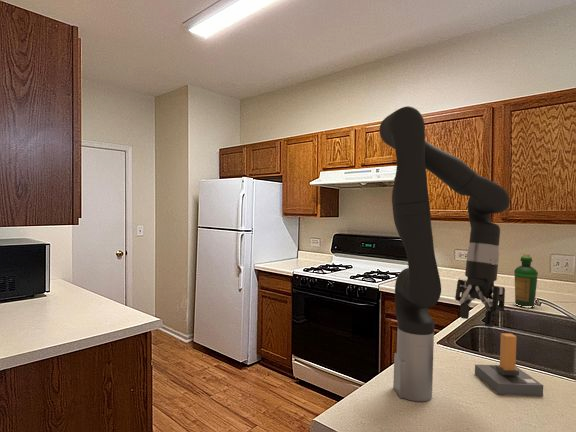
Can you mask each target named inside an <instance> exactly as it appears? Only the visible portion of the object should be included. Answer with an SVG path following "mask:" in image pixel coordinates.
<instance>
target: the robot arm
mask: <svg viewBox="0 0 576 432" xmlns="http://www.w3.org/2000/svg"><path fill="white" fill-rule="evenodd" d="M378 131H379V135H380V138H381V140H382V141H383V143H385V144H386V145H387V146H389V147H390V148H392V149H394V150H395V157H396V168H395V169H396V172H395V176H394V179H393V180H394V182H393V186H392V193H391V206H392V215H393V221H394V225H395V228H396V231H397V234H398V236H399V237H400V240H401V242H402V244H403V247H404V250H405V253H406V257H407V265H408V266H407V267H406V268H404V269H402V270H401V271H400V272H399V273H398V275H397V277H396V280H395V285H394V310H395V311H394V313H395V314H394V315H395V316H396V320H397V333H396V335H397V336H396V337H397V338H396V352H395V353H394V357H393V359H394V361H393V381H392V382H393V384H392V385H393V389H394V391H395V392H396V394H397V396H398V398H400V399H406V400H408V401H413V402H417V403H418V402H419V403H421V402H427V401H430V400H431V399H432V398H433V382H434V381H433V380H434V378H433V377H434V350H435V349H434V340H435V320H434V319H433V318H432V316H431V315H430V313H429V311H428V309H429V308H433V307H434V306H435V305H436V304H437V303H438V302H439V300H440V298H441V295H442V283H441V282H442V281H441V278H440V272H439V269H438V265H437V258H436V254H435V247H434V237H433V227H432V220H431V219H432V217H431V216H432V215H431V206H430V196H429V190H428V179H427V170H428V171H429V172H430V173H432V174H433V175H435V176H436V177H437V178H438V179H439V180H440V181H442V182H443V183H444V184H445V185H447V186H448V187H449V188H450V189H451V190H452V191H453V192H454V193H456V194H458V195H461V196H466V197H468V200H467V213H468V221H469V225H470V232H469V233H470V234H469V243H468V244H469V245H468V248H467V251H466V252H467V254H466V261H465V263H466V264H465V272H464V275H465V277H467V279H460V278H459V279H458V280H457V284H456V290H455V297H454V299H455V300H456V301H458V302H459V304H460V307H459V318H461V319H464V320H468V319H469V316H470V309H471V308H470V305H471V303H472V301H475V300H479V301H480V302H481V303H482V304H484V307H485V309H486V311H485V316H484V326H485V327H488V328H493V327H494V326H495V324H496V315H497V312H504V311H505V301H506V300H505V299H506V296H505V295H506V288H505V287H504V286H499V285H495V282H496V281H497V280H498V271H499V269H498V268H499V259H500V251H499V249H500V248H499V246H500V238H501V237H500V236H501V228H500V226H499V225H498V224H497V223H494V222H493V221H492V219H491V218H492V217H491V215H492V214H500V213H503V212H505V211H506V210H507V209H508V208H509V206H510V204H511V203H510V202H511V198H510V195H509V193H508V192H507V190H506V189H505V188H504V187H502V186H501V185H500V184H498V183H496V182H494V181H492V180H491V179H488V178H487V177H484V176H482V175H480V174H478V173H477V172H476V171H475V170H474V169H472V168H471V167H470V166H469V165H468V164H466V163H465V162H464V161H462V159H459V158H458V157H457V156H455V155H453V154H451V153H449V152H446V151H444V150H442V149H440V148H438V147H436V146H434V145H433V144H431V143H429V142H428V141H426V124H425V121H424V118H423V115H422V113H421V112H420V111H419V110H418V109H417V108H415V107H413V106H403V107H401V108H399V109H396V110H395V111H393V112H392V113H390V114H389V115H387V116H386V117H384V118H383V120H382V121H381V123H380V125H379V130H378Z"/></svg>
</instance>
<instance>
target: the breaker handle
mask: <svg viewBox="0 0 576 432" xmlns="http://www.w3.org/2000/svg"><path fill="white" fill-rule="evenodd" d="M517 339H518V338H517V335H514V334H513V333H503V332H501V333H500V344H499V345H500V351H499V364H495V365H496V370H497V371H499V372H500V373H501V374H502V375H515V376H519V371H518V370H516V369H515V368H516V367H517V365H516V363H517V362H516V361H517V341H518V340H517ZM498 365H500V366H498Z"/></svg>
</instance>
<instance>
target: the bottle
mask: <svg viewBox="0 0 576 432" xmlns="http://www.w3.org/2000/svg"><path fill="white" fill-rule="evenodd" d="M519 261H520V262H521V265H518V266H517V267H516V268H515V269H514V270H513V271H514V273H513V274H514V301H515V302H514V304H515V303H516V304H518V305H521V306H532V307H533V306H534V307H535V305H534V300H535V301H536V294H537V286H538V285H537V284H538V275H539V273H538V271H537V269H536V268H534V267H532V262H533V259H532V256H531V254H528V253H523V254H522V256H521V257H520V259H519ZM516 304H515V305H516ZM534 307H533V308H534Z"/></svg>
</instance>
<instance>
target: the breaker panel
mask: <svg viewBox="0 0 576 432" xmlns="http://www.w3.org/2000/svg"><path fill="white" fill-rule="evenodd" d="M496 365H498V366H500V364H474V375H475V376H477V377H478V378H479V379H480V380H481V381H482V382H483V383H485V384H486V385H487V386H488V387H489V388H490V389H491V390H492V391H493V392H494V393H496V394H497V395H498V396H499V395H500V396H527V397H528V396H529V397H530V396H531V397H532V396H533V397H543V396H544V384H542V383H540V382H539V381H538V380H536V379H535V378H533V377H532V376H531V375H529V374H528V373H526V372H525V371H524V370H522V369H521V368H519V367H518V366H516V368H515V369H516V370H518V371H519V376H515V375H502V374H501V373H500V372H499V371H497V370H496Z"/></svg>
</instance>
